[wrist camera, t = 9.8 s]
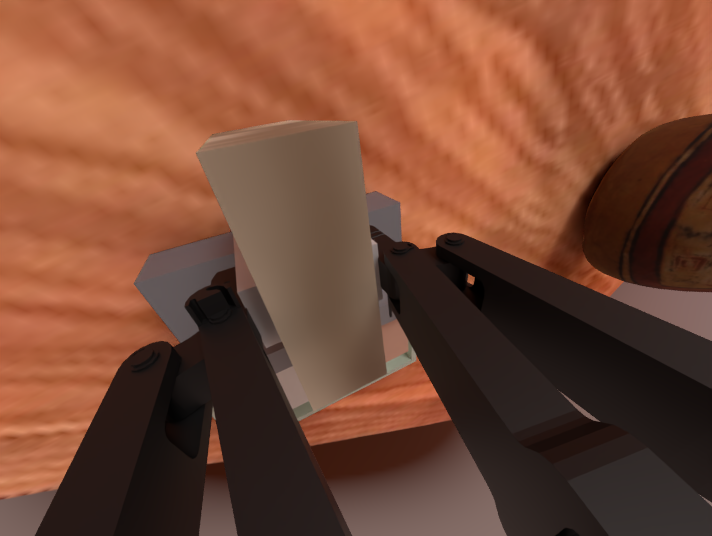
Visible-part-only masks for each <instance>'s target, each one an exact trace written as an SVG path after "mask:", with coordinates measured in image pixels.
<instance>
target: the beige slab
mask: <svg viewBox="0 0 712 536" xmlns="http://www.w3.org/2000/svg"><path fill="white" fill-rule="evenodd" d="M196 154H197V157H198V159H199V161H200V163H201V165H202V168H203V170H204V172H205V174H206V176H207V179H208V181H209V183H210V185H211V187H212V190H213V192H214V194H215V196H216V198H217V200H218V203H219V205H220V207H221V209H222V211H223V214H224V216H225V218H226V220H227V222H228V225H229V227H230V229H231V231H232V233H233V236H234V238H235V240H236V242H237V244H238V247H239V249H240V251H241V253H242V255H243V258H244V260H245V262H246V264H247V266H248V268H249V271H250V273H251V275H252V277H253V279H254V282H255V284H256V286H257V288H258V290H259V293H260V295H261V297H262V299H263V301H264V304H265V306H266V308H267V310H268V312H269V315H270V317H271V319H272V321H273V323H274V325H275V328H276V330H277V332H278V334H279V336H280V339H281V341H282V342H280V343H277V344H275V345H272V346H270V347H268V348H266V347H265V345H264V343H263V341H262V343H263V349H264V351H265V352H266V354H267V356H268V358H269V360H270V363H271V365H272V367H273V369H274V371H275V373H278V372H281V371H283V370H285V369H287V368H289V367H292V366H293V367H294V369H295V372H296V374H297V376H298V378H299V380H300V383H301V385H302V387H303V389H304V391H305V393H306V396H307V398H308V400H309V402H310V404H311V407H312V409H313V411H316V410H318V409H320V408H322V407H324V406H325V405H327V404H329V403H331V402H333V401H335V400H337V399H339V398H341V397H343V396H345V395H347V394H349V393H351V392H353V391H355V390H357V389H359V388H360V387H362V386H364V385H366V384H368V383H370V382H372V381H374V380H376V379H378V378H380V377H382V376H384V375H386V374H387V369H386V361H385V352H384V344H383V335H382V327H381V326H382V325H385V324H387V323H389V322H391V321H393V320H396V317H395V315H394V313H393V311H392V317H390V316H389V308H388V297H387V293H386V292H385V291H384V290H383V289H382V294H383V299H382V300H379V301H378V293H377V285H376V276H375V268H374V259H373V251H372V243H371V234H370V226H369V217H368V209H367V200H366V192H365V184H364V175H363V167H362V158H361V150H360V142H359V133H358V125H357V121H301V120H288V121H283V122H277V123H272V124H266V125H261V126H255V127H249V128H244V129H238V130H233V131H227V132H222V133H216V134H212V135H211V136H210V138H209V139H208V140H207V141H206V142H205V143H204V144H203V145H202V147H201V148H200V149H199V150H198V151H197V152H196Z"/></svg>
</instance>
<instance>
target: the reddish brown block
mask: <svg viewBox="0 0 712 536" xmlns="http://www.w3.org/2000/svg"><path fill="white" fill-rule="evenodd" d="M381 327H382V335H383V344H384V352H385V361H386V362H388V361H390V360H392V359H394V358H396V357H398V356H400V355H402V354H404V353H406V352H408V351H409V350H408V339H407V337H406V335H405V333H404V331H403V330H402V328H401V326H400V324H399V322H398V320H397V319H396V320H393V321H391V322H389V323H387V324H385V325H382V326H381Z"/></svg>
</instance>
